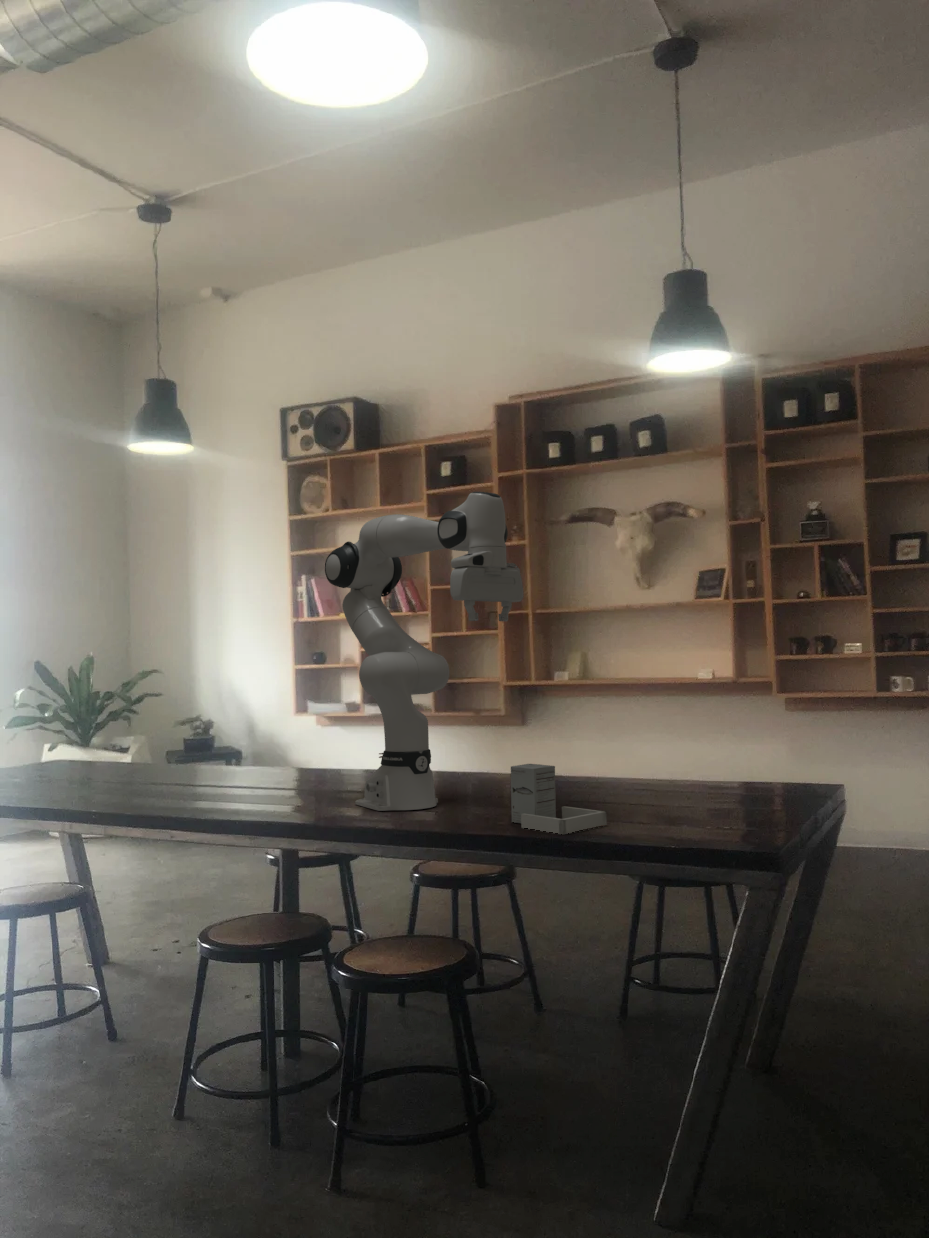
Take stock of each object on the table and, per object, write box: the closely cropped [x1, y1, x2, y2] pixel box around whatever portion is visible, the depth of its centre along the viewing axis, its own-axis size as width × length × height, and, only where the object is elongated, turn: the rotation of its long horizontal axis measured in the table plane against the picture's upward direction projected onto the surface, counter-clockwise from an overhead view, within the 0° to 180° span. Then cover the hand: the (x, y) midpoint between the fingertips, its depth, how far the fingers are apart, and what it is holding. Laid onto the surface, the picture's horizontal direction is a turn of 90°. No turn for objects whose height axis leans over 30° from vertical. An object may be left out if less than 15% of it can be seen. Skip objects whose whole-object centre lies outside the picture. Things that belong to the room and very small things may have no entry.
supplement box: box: [510, 763, 557, 824], centre depth 211 cm, size 7×7×13 cm
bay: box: [520, 805, 608, 836], centre depth 204 cm, size 12×14×3 cm
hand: (488, 621), depth 217 cm, fingers open, 8 cm apart
